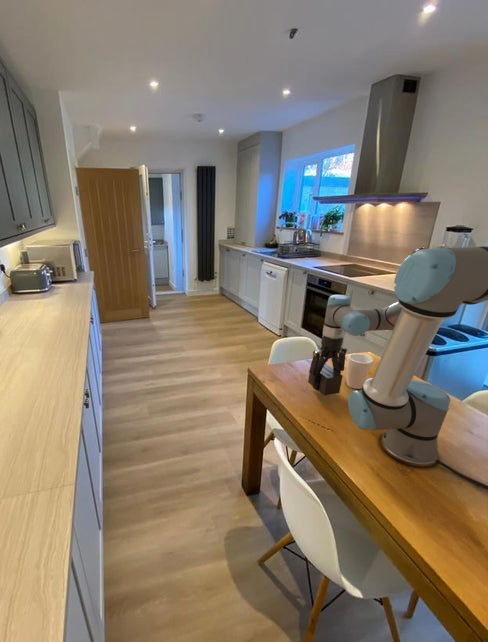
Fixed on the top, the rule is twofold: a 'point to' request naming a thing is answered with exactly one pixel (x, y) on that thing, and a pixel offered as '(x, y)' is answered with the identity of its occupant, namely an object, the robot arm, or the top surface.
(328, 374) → the dark slotted box
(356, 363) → the foam cup
